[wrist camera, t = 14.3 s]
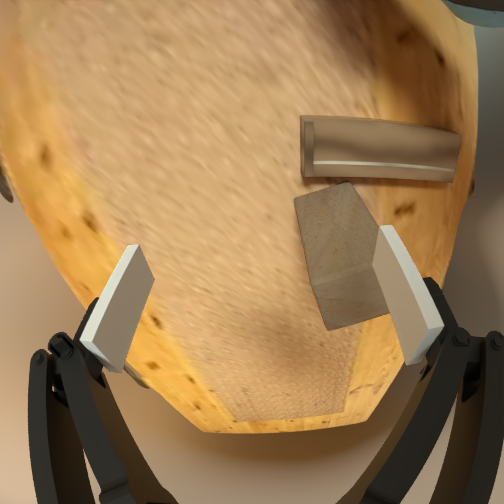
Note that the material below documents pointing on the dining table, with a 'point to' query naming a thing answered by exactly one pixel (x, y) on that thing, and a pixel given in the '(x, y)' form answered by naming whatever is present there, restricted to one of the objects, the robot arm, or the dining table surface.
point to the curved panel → (376, 149)
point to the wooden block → (340, 255)
